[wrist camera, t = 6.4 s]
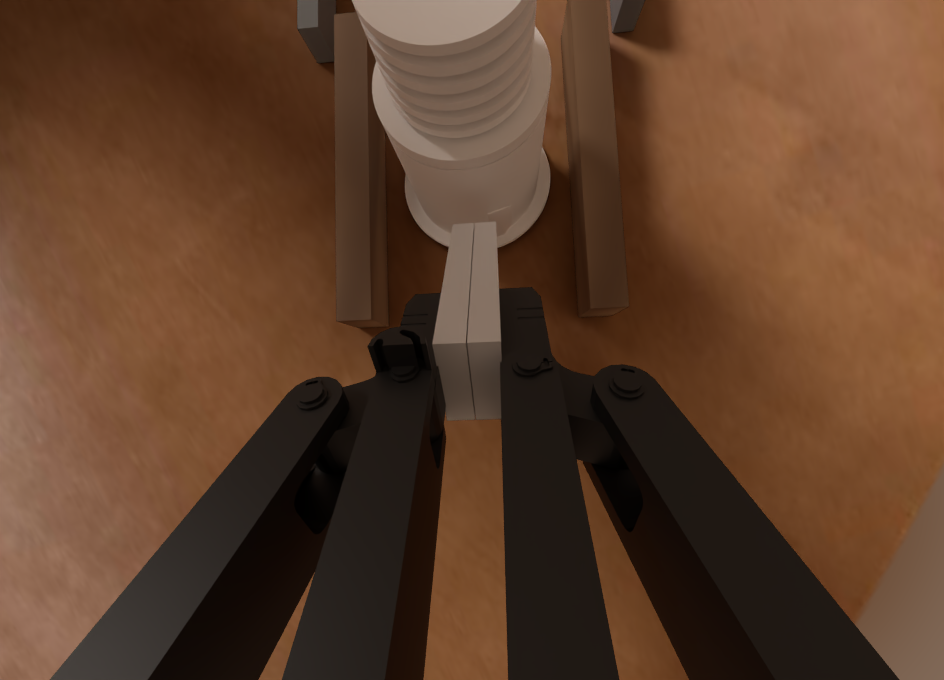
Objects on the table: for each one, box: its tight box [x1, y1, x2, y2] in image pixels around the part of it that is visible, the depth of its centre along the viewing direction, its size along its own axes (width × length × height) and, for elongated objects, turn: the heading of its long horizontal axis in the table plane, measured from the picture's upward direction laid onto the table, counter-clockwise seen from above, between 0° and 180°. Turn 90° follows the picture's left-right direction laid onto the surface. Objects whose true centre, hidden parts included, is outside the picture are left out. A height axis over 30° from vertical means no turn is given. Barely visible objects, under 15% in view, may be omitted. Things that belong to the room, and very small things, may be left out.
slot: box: [334, 0, 629, 328], centre depth 17 cm, size 12×14×2 cm
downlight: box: [352, 0, 551, 248], centre depth 14 cm, size 8×7×10 cm
